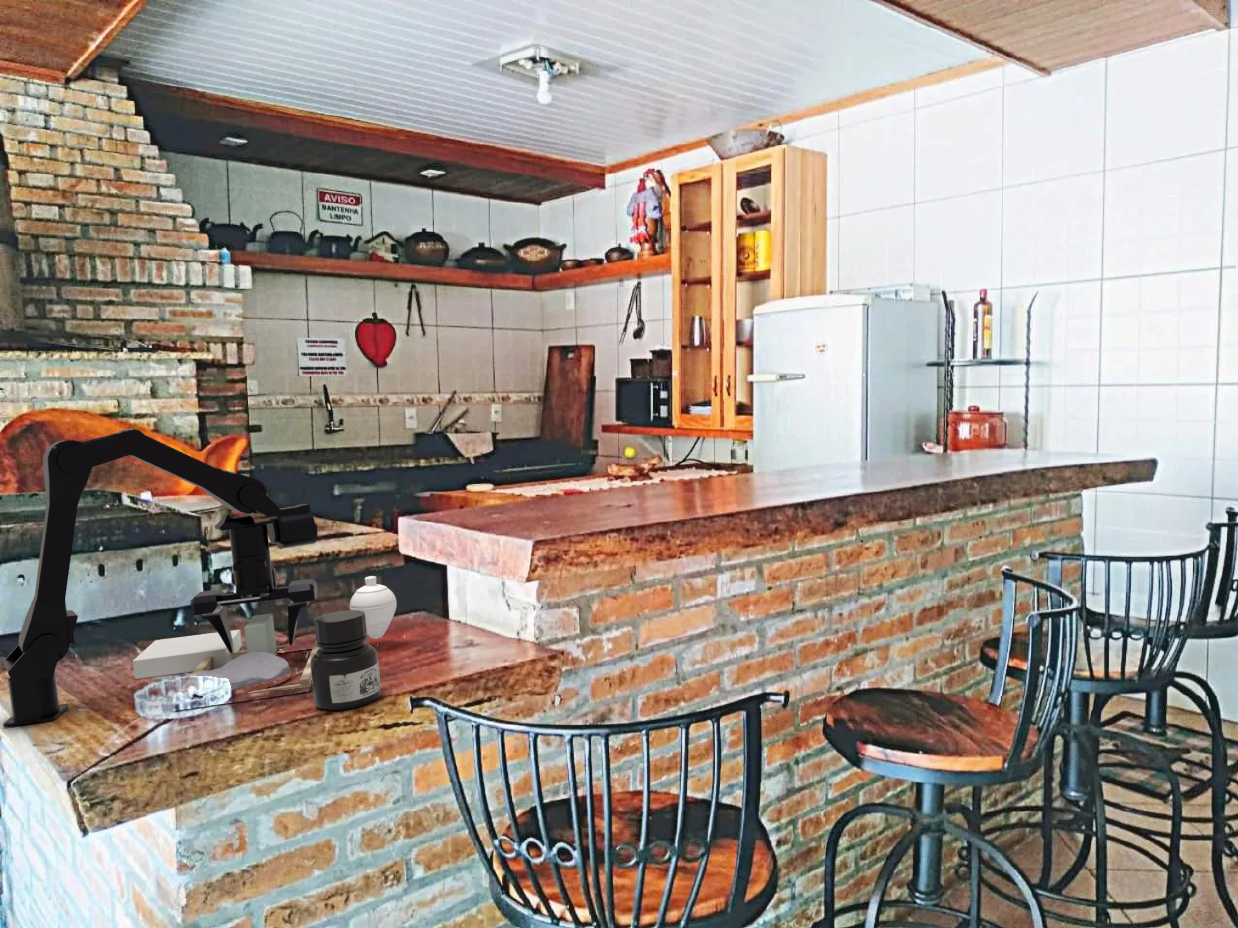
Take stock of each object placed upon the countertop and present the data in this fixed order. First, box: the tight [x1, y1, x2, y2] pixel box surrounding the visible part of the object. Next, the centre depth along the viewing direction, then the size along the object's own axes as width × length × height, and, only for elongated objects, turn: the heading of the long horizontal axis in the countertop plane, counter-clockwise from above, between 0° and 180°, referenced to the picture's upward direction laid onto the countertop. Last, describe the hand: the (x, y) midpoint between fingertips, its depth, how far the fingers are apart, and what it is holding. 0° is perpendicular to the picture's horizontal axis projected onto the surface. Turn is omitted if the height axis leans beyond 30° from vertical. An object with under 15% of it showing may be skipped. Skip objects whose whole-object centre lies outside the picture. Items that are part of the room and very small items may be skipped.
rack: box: [177, 642, 320, 693], centre depth 147 cm, size 27×18×2 cm
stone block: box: [196, 652, 291, 690], centre depth 142 cm, size 12×5×10 cm
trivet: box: [132, 629, 243, 680], centre depth 159 cm, size 14×14×3 cm
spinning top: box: [349, 575, 397, 640], centre depth 159 cm, size 8×8×12 cm
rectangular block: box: [244, 613, 277, 654], centre depth 153 cm, size 9×3×8 cm, turn 13°
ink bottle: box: [310, 609, 382, 711], centre depth 130 cm, size 10×9×12 cm
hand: (261, 648), depth 153 cm, fingers open, 9 cm apart
